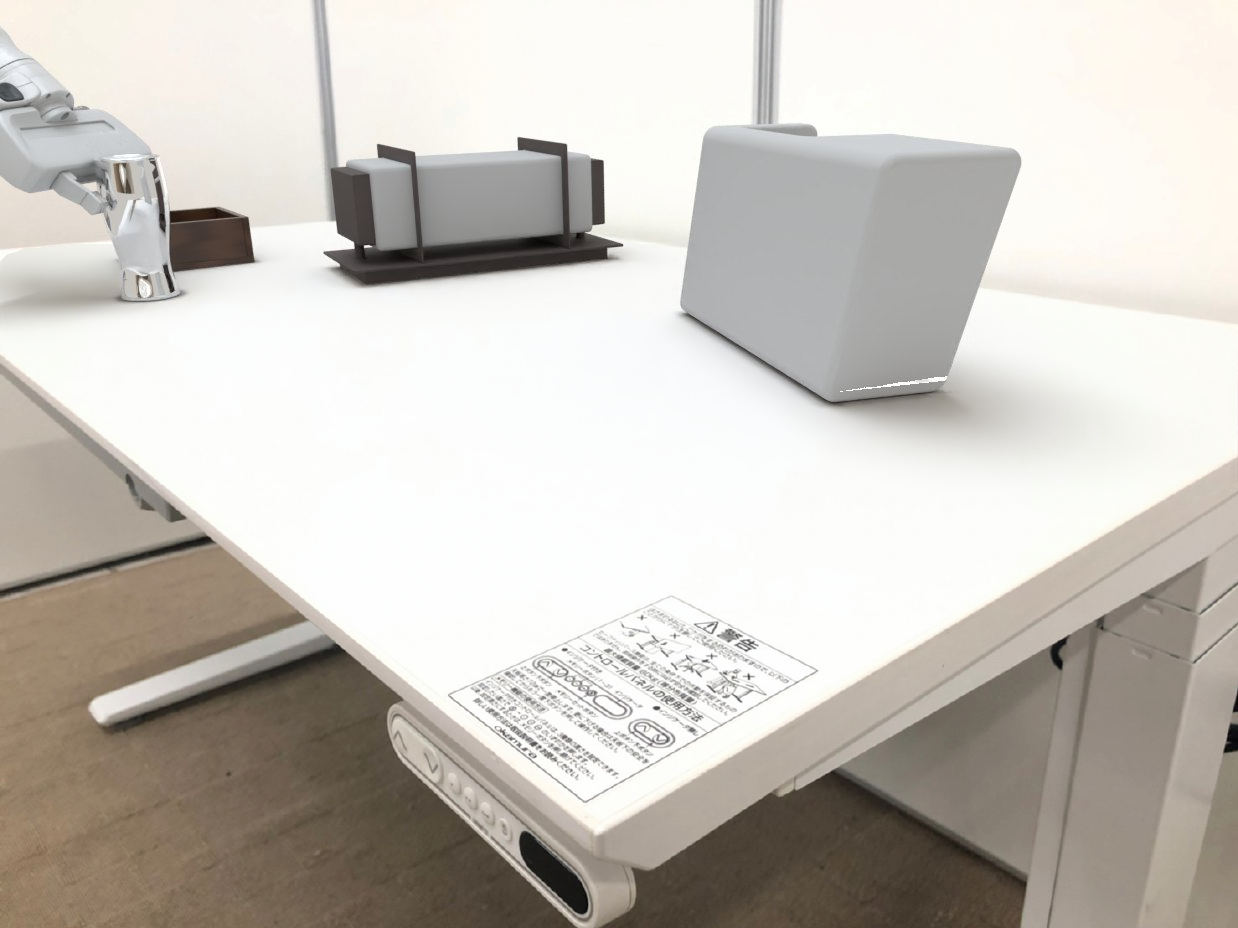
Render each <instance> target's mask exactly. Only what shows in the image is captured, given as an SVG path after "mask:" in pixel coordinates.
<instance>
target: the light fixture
mask: <svg viewBox="0 0 1238 928" xmlns="http://www.w3.org/2000/svg"><path fill="white" fill-rule="evenodd" d="M516 139H517V150H502V151H501V150H500V151H485V152H484V151H483V152H465V153H463V152H462V153H447V154H427V155H416V152H415V151H413V150H409V149H404V148H400V147H395V146H390V145H386V144H381V143H377V144H376V152H377V157H375V158H374V157H373V158H357V159H355V158H354V159H348V160H347V161H346V162H345V166H338V167H337V166H336V167H331V168H330V178H331V187H332V196H333V197H332V198H333V206H334V215H335V216H334V217H335V224H336V233H337V234H338V235H340V236H341V237H343V238H345V239H347V240H349V241H350V242H351V243H353V248H347V249H346V248H345V249H336V250H325V251H323V252H322V253H323V255H324V256H326V257H327V258H328V259H331V260H332V261H334V262H336V263H337V264H339V269H341V270H343V271H345V272H346V273H347V274H349V275H351V277H354V278H355V279H357V280H358V281H360V282H361V283H363V284H365V285H372V284H373V285H374V284H382V283H383V284H384V283H392V282H400V281H411V280H419V279H420V280H421V279H428V278H429V279H430V278H438V277H447V276H457V275H458V276H459V275H466V274H477V273H485V272H495V271H496V272H497V271H504V270H505V271H507V270H515V269H525V268H532V267H533V268H534V267H542V266H543V267H544V266H552V265H561V264H562V265H563V264H573V263H581V262H591V261H600V260H608V249H613V248H622V247H624V243H622V242H618V241H614V240H611V239H608V238H605V237H601V236H597V235H595V234H591V233H590V232H591V231H592V230H593V226H599V225H604V224H606V206H605V203H606V202H605V161H604V160H603V159H599V158H592V157H591V156H590V155H589V154H587V153H580V152H574V151H568V143H565V142H564V143H563V142H557V141H552V140H551V141H549V140H543V139H536V138H528V137H521V136H517V138H516ZM365 246H370V247H365Z"/></svg>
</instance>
